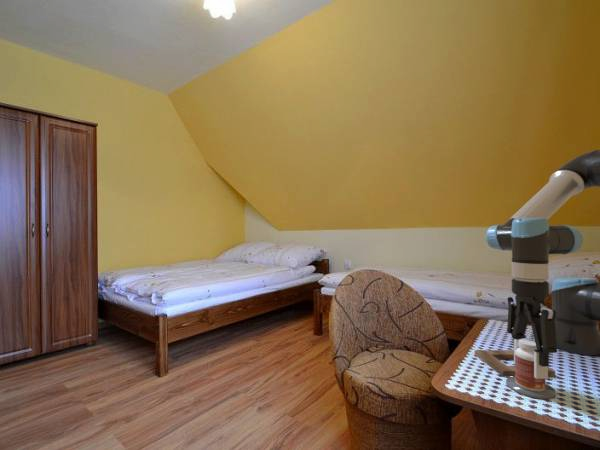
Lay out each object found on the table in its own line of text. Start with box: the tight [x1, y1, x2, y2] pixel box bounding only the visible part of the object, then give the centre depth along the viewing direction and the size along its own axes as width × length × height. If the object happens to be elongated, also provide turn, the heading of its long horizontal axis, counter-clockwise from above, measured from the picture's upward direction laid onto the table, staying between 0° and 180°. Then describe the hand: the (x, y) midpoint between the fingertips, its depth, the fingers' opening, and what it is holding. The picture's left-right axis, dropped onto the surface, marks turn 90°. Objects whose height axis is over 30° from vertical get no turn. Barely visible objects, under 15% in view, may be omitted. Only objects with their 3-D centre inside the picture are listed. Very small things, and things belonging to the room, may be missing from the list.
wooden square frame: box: [474, 349, 556, 378], centre depth 91 cm, size 14×14×2 cm
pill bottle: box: [514, 338, 546, 392], centre depth 78 cm, size 6×6×11 cm
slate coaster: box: [505, 376, 557, 400], centre depth 78 cm, size 10×10×1 cm
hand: (530, 370), depth 78 cm, fingers open, 6 cm apart
